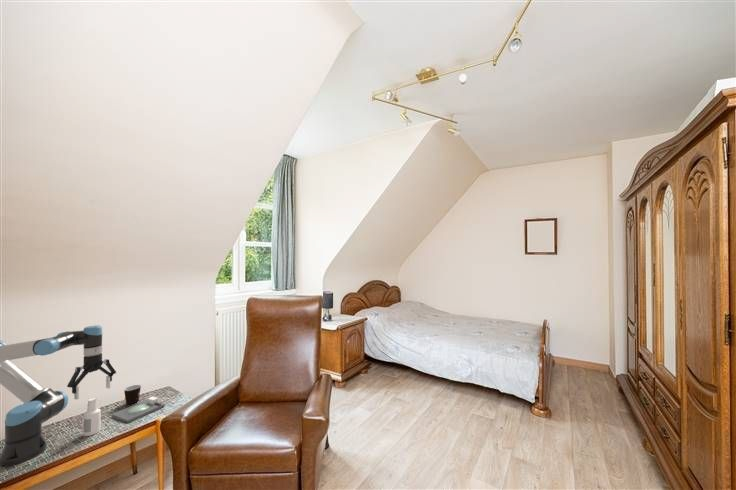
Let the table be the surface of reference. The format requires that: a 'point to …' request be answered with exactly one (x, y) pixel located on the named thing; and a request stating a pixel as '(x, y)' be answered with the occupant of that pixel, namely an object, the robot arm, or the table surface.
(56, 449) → the table surface
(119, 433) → the table surface
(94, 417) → the spray bottle
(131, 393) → the coffee mug
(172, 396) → the table surface
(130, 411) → the charging dock
